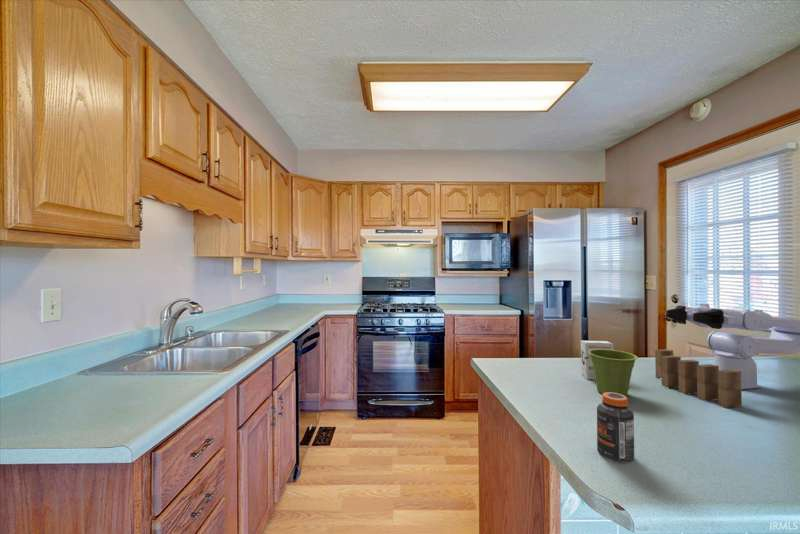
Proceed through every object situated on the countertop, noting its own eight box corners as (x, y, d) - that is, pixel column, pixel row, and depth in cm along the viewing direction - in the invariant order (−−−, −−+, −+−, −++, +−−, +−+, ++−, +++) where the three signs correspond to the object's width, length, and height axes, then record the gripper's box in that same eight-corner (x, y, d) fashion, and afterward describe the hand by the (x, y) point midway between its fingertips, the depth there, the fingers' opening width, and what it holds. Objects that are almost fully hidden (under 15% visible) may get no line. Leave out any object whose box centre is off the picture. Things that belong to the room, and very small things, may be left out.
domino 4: (711, 396, 92) (711, 364, 92) (719, 399, 90) (718, 365, 90) (697, 398, 91) (696, 365, 91) (704, 400, 89) (704, 367, 89)
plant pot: (592, 398, 92) (591, 356, 92) (585, 384, 103) (585, 347, 103) (643, 404, 87) (643, 361, 87) (631, 389, 98) (631, 351, 98)
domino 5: (733, 403, 87) (732, 369, 87) (741, 406, 85) (740, 371, 86) (718, 405, 86) (717, 370, 86) (726, 408, 84) (725, 372, 84)
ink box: (608, 376, 111) (608, 340, 111) (615, 380, 106) (614, 343, 106) (580, 374, 112) (580, 339, 112) (586, 379, 107) (585, 342, 108)
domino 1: (668, 376, 110) (667, 349, 110) (673, 378, 108) (673, 350, 108) (655, 377, 109) (655, 349, 109) (661, 379, 107) (660, 351, 107)
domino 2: (675, 384, 102) (674, 355, 102) (681, 386, 100) (680, 356, 100) (661, 386, 101) (661, 356, 101) (667, 388, 99) (667, 357, 99)
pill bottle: (590, 447, 66) (589, 390, 66) (618, 446, 66) (617, 389, 66) (611, 465, 60) (611, 401, 60) (642, 463, 60) (642, 400, 60)
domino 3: (692, 390, 97) (692, 359, 97) (699, 392, 95) (698, 361, 95) (678, 391, 96) (678, 360, 96) (685, 394, 94) (684, 362, 94)
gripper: (691, 302, 108) (657, 299, 105) (746, 307, 94) (708, 304, 91) (690, 324, 108) (656, 322, 105) (745, 332, 93) (707, 330, 91)
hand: (680, 315), depth 98 cm, fingers open, 7 cm apart
